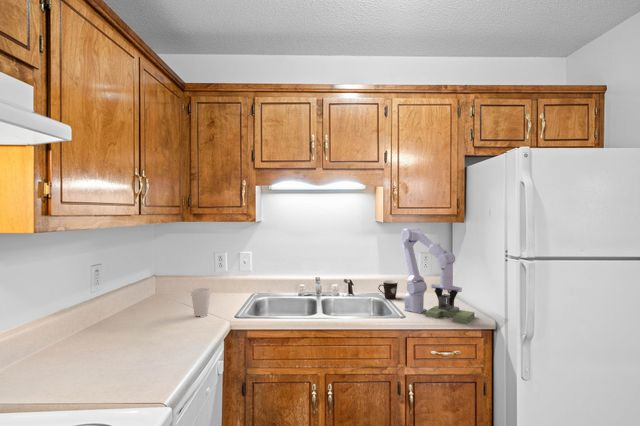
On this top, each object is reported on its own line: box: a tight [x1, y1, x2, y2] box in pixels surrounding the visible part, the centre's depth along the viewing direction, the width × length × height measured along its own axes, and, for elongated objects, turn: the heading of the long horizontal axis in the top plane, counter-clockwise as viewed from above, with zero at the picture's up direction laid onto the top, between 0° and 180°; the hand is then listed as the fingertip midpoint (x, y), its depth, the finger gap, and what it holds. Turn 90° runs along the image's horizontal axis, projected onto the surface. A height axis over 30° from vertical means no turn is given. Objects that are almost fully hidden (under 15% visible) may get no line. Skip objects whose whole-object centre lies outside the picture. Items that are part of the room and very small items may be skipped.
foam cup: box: [190, 287, 211, 317], centre depth 198 cm, size 10×9×13 cm
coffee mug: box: [378, 279, 399, 301], centre depth 236 cm, size 12×9×10 cm
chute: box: [437, 293, 455, 311], centre depth 194 cm, size 5×8×6 cm, turn 142°
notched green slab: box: [425, 305, 475, 325], centre depth 198 cm, size 20×14×4 cm
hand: (446, 304), depth 193 cm, fingers closed on chute, 5 cm apart
